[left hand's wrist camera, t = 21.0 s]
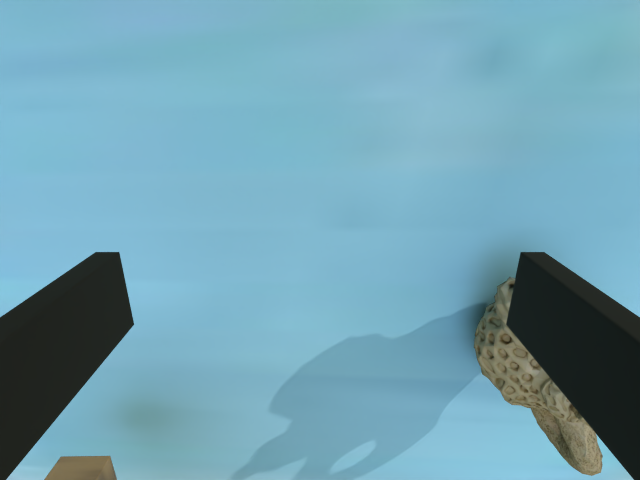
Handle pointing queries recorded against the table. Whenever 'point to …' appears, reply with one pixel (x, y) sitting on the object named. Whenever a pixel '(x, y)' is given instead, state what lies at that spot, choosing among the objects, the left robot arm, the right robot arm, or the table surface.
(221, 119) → the table surface
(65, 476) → the block
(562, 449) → the tan lumpy piece
